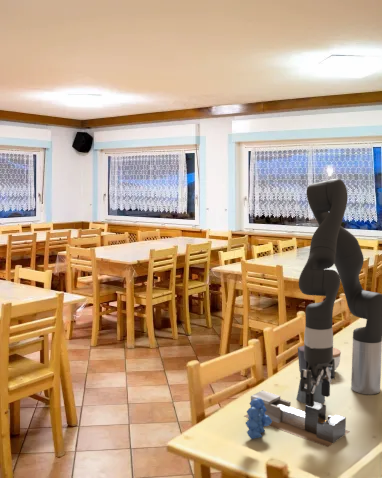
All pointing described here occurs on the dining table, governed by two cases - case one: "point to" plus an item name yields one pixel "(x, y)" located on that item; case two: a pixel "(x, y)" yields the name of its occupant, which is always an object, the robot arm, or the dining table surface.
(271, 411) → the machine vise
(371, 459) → the dining table surface
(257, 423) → the grapes
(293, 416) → the grey block
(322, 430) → the socket
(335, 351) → the lidded jar
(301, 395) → the moka pot
